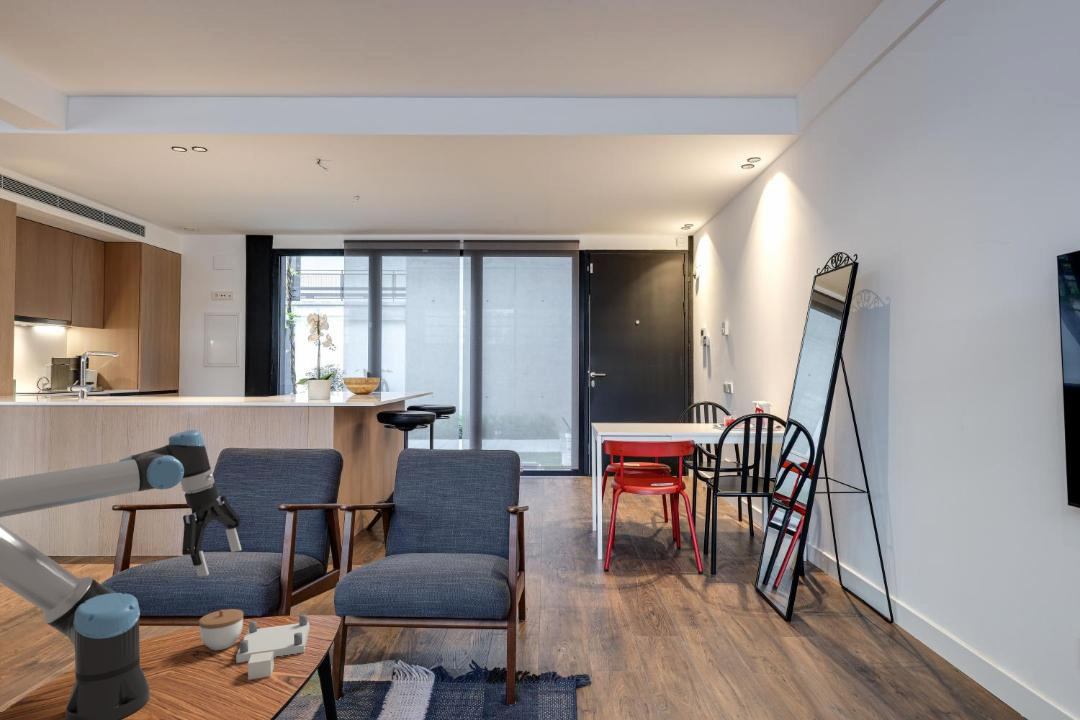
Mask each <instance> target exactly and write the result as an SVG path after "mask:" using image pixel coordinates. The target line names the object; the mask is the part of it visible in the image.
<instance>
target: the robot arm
mask: <svg viewBox="0 0 1080 720" xmlns="http://www.w3.org/2000/svg"><path fill="white" fill-rule="evenodd" d="M215 482H216V481H215V478H214V475H213V472H212V468H211V463H210V460H209V456H208V452H207V447H206V444H205V441H204V439H203V436H202V433H201V432H200V431H199V430H198V429H191V430H184V431H182V432H177V433H175V434H172V435H170V436H169V437H168V444H166V445H164V446H161V447H158V448H153V449H151V450H147V451H144V452H140V453H137V454H132V455H129V456H128V457H124V458H122V459H119V460H118V461H116V462H115V461H114V462H108V463H102V464H95V465H90V466H89V465H88V466H83V467H76V468H69V469H63V470H55V471H50V472H42V473H37V474H36V473H35V474H29V475H23V476H16V477H9V478H1V479H0V518H4V517H10V516H15V515H20V514H25V513H31V512H37V511H41V510H46V509H51V508H56V507H57V508H59V507H63V506H69V505H73V504H78V503H79V504H80V503H83V502H90V501H95V500H98V499H99V500H100V499H106V498H109V497H115V496H120V495H125V494H132V493H136V492H144V491H151V490H155V489H156V490H169V489H171V488H175V487H176V486H177V485H179V483H180V485H181V489H182V491H183V492H184V498H185V501H186V505H187V507H188V508H190V509H191V513H190V514H185V515H183V517H182V520H183V538H182V551H181V554H182V556H188V555H189V556H190V559H191V561H192V565H193V566H194V568H195V571H196V574H197V577H198V578H199V577H200V578H201V577H207V576H209V575H210V572H209V569H208V565H207V562H206V558H205V554H204V551H203V550H201V546H202V543H203V538H204V535H205V529H206V527H208V524H209V523H211V522H212V521H213V520H216V521H217V522H219V524H221V525H223V526H224V527H226V528H227V529H224V530H225V534H226V537H227V540H228V545H229V549H230V551H231V553H233V552H234V553H235V552H240V551H242V550H243V549H242V545H241V542H240V539H239V531H238V528H237V527H240V525H241V523H240V522H241V517H240V516H239V515H238V514H237V512H236V511H235V510H234V508H233V507H232V506H231V505H230V503H229V502H228V499H227V497H226V495H219V491H218V487H217V485H216V484H215ZM0 584H2V585H3V586H5V587H6V588H8V589H10V590H11V591H12V592H14V593H15V594H17V595H18V596H20V597H22V598H23V599H24V600H26V601H28V602H29V603H31V604H32V605H34V606H36V608H38V609H40V610H41V611H43V613H44V614H43V616H44V617H43V618H44V619H43V620H44V621H43V622H44V623H46V624H47V625H49V626H50V627H52V628H53V629H55V630H57V631H58V632H59V633H60V634H62V635H64V636H65V637H67V638H68V639H70V642H71V643H72V645H73V646H74V647H73V648H74V659H75V661H74V667H75V669H74V670H75V673H74V674H75V681H74V685H73V687H72V691H71V692H70V697H69V699H68V702H67V705H66V707H65V708H66V709H65V720H121V719H123V718H126V717H128V716H130V715H132V714H134V713H136V712H137V711H139V710H141V708H143V707H144V706H146V704H147V703H148V702H149V700H150V698H151V696H150V695H151V694H150V691H151V690H150V685H149V682H148V680H147V678H146V676H145V674H144V670H143V669H142V666H141V661H140V660H141V659H140V658H141V657H140V651H141V650H140V648H141V647H140V615H141V609H140V607H139V602H138V601H139V600H138V599H137V598H136V597H135V596H134V595H133V594H129V593H122V592H116V591H114V590H112V589H111V588H107V587H105V586H104V585H103V584H101V583H100V582H98V581H97V580H95V579H94V578H92V577H91V576H85V577H77V575H74V574H73V573H71V572H70V571H69V570H67V569H66V568H65V567H63V566H62V565H61V564H59V563H57V562H56V561H55V560H53V558H50V557H49V556H47V555H46V554H44V553H43V552H42V551H41V550H39V549H38V548H36V547H35V546H34V545H32V544H30V543H29V542H28V541H27V540H25V539H23V538H22V537H21V536H19V535H18V534H17V533H14V531H12V530H10V529H9V528H8V527H7V526H5V525H4V524H2V523H1V522H0Z"/></svg>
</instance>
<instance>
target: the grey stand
mask: <svg viewBox="0 0 1080 720" xmlns="http://www.w3.org/2000/svg"><path fill="white" fill-rule="evenodd" d="M298 617H299V619H298V620H299V623H291V624H285V625H284V624H283V625H276V626H269V627H263V628H262V627H260V628H258V621H257V620H251V621H249V622H248V630H247V632H246V634H245V635H244V637H243V640H241V641H240V642H238V643H239V644H238V645H239V648H238V651H237V653H236V655H235V656H236V658H235V659H236V664H239V663H240V664H241V663H247V662H249V659H250V657H251V655H252V654H258V653H265V652H272V651H274V658H277V657H276V656H281V657H284V656H283V655H288V656H290V655H289V654H294V655H297V654H296V653H301V652H304V653H305V651H304V650H306V647H305V645H306V646H307V642H306V641H308V638H307V637H309V634H308V633H309V632H310V629H311V628H310V622H309V621H308V615H307V614H305V613H304V614H300V615H298ZM301 654H302V653H301ZM246 661H247V662H246Z"/></svg>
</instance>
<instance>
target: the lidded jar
mask: <svg viewBox="0 0 1080 720" xmlns="http://www.w3.org/2000/svg"><path fill="white" fill-rule="evenodd" d="M198 625H199V636H200V639H201V641H202V643H203V644H204V645H205V646H206V647H208V648H209V650H211V651H222V650H225V649H228V648H231V647H233V646H234V645H235V643H236V641H237V640H238V639H239V638H240V636H241V634H242V632H243V626H244V611H243V610H241V609H238V608H237V609H236V608H235V609H234V608H229V609H220V610H216V611H213V612H210V613H208V614H205V615H204V616H202V617H200V619H199V620H198Z"/></svg>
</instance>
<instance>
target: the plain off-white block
mask: <svg viewBox="0 0 1080 720" xmlns="http://www.w3.org/2000/svg"><path fill="white" fill-rule="evenodd" d="M274 658H275V657H274V651H272V652H265V653H258V654H252V655H251V657H250V659H249V661H247V674H248V675H247V679H248V680H249V681H251V680H256V679H261V678H262V679H263V678H268V677H271V676H272V674H273V672H274V671H273V670H274V668H275V663H274V662H275V661H274V660H275V659H274Z"/></svg>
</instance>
